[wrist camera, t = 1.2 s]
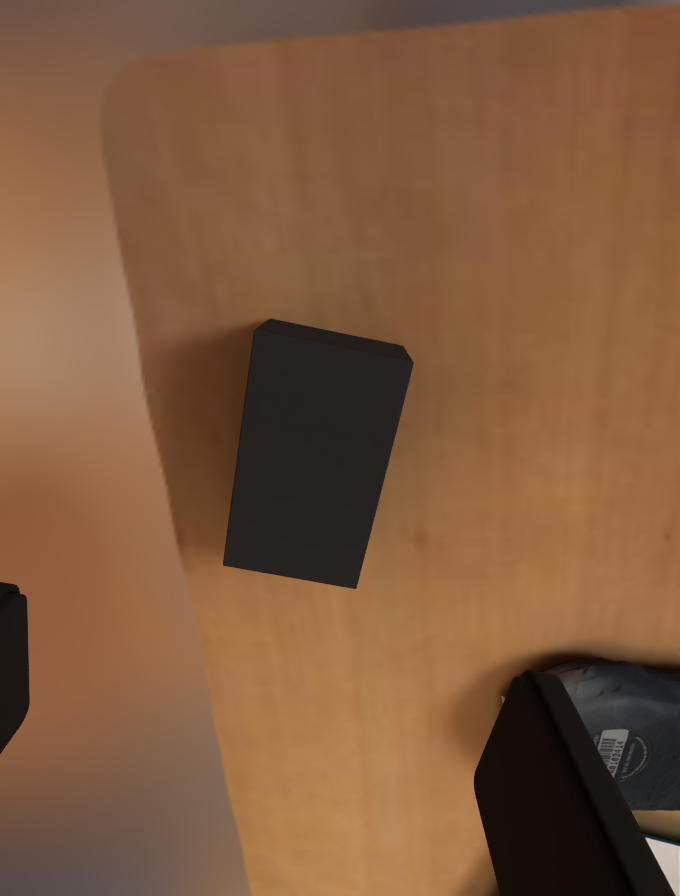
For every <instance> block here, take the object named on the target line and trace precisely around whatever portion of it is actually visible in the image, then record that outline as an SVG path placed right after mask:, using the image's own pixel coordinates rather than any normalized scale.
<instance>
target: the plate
mask: <svg viewBox="0 0 680 896" xmlns="http://www.w3.org/2000/svg"><path fill="white" fill-rule="evenodd" d="M643 835H644V837H645V839H646V840H647V842H648V844H649V846H650V848H651V850H652V852H653V854H654V856H655V857H656V859H657V861H658V863H659V865H660V867H661V869H662V871H663V873H664V875H665V876H666V878H667V880H668V882H669V884H670V886H671V888H672V890H673V892H674V893H675V895H676V896H680V843H677V842H673V841H669V840H665V839H662V838H658V837H654V836H650V835H646V834H643Z"/></svg>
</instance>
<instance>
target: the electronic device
mask: <svg viewBox="0 0 680 896" xmlns="http://www.w3.org/2000/svg"><path fill="white" fill-rule="evenodd" d="M542 673H547V674H553V675H556V676H558V677H559V678H560V680H561V681H562V683H563V685H564V686H565V688H566V690H567V692H568V694H569V696H570V698H571V700H572V702H573V704H574V705H575V707H576V709H577V711H578V713H579V715H580V717H581V719H582V721H583V722H584V724H585V726H586V728H587V730H588V732H589V734H590V736H591V738H592V740H593V741H594V743H595V745H596V747H597V749H598V751H599V753H600V755H601V757H602V759H603V760H604V762H605V764H606V766H607V768H608V769H609V771H610V772H611V774H612V776H613V778H614V780H615V782H616V784H617V786H618V788H619V789H620V791H621V793H622V795H623V797H624V799H625V801H626V803H627V805H628V806H629V808H630V810H669V811H673V810H679V811H680V671H675V670H674V671H666V670H660V669H648V668H644V667H642V666H639V665H636V664H632V663H628V662H625V661H612V660H608V659H604V658H590V659H579V660H577V661H572V662H569V663H565V664H561V665H558V666H555V667H553V668H550V669H548V670H547V671H544V672H542ZM501 698H502V703H503V702H504V700H505V698H504V697H503V696H501Z"/></svg>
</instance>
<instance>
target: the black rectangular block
mask: <svg viewBox="0 0 680 896" xmlns="http://www.w3.org/2000/svg"><path fill="white" fill-rule="evenodd" d="M413 364H414V363H413V361H412V359H411V358H410V356H409V355H408V353H407V351H406V350H405V348H404V347H403V346H401V345H396V344H391V343H386V342H381V341H377V340H372V339H367V338H362V337H357V336H352V335H347V334H342V333H338V332H333V331H328V330H323V329H318V328H313V327H308V326H304V325H299V324H294V323H289V322H284V321H279V320H274V319H269V320H268V321H267V322H265V323H264V324H262V325H261V326H260V327H258V328H257V329H255V330H254V336H253V343H252V351H251V358H250V366H249V373H248V381H247V388H246V396H245V403H244V411H243V418H242V425H241V433H240V440H239V448H238V455H237V463H236V470H235V478H234V485H233V493H232V500H231V508H230V515H229V523H228V530H227V537H226V545H225V552H224V560H223V565H224V566H229V567H235V568H240V569H246V570H252V571H257V572H263V573H268V574H274V575H280V576H285V577H291V578H297V579H302V580H308V581H313V582H319V583H325V584H330V585H336V586H342V587H347V588H353V589H356V588H357V584H358V580H359V576H360V572H361V568H362V564H363V560H364V557H365V553H366V549H367V545H368V541H369V537H370V533H371V529H372V525H373V521H374V517H375V513H376V509H377V505H378V501H379V497H380V494H381V490H382V486H383V482H384V478H385V474H386V470H387V466H388V462H389V458H390V454H391V450H392V446H393V442H394V438H395V434H396V431H397V427H398V423H399V419H400V415H401V411H402V407H403V403H404V399H405V395H406V391H407V387H408V383H409V379H410V375H411V372H412V368H413Z"/></svg>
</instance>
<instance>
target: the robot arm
mask: <svg viewBox="0 0 680 896" xmlns="http://www.w3.org/2000/svg"><path fill="white" fill-rule="evenodd" d="M28 708H29V661H28V621H27V598H26V596H25V595H23V594H20V592H19V588H18V587H17V585H14V584H8V583H3V582H0V754H1V752H2V751H3V749H4V748H5V747H6V745H7V744H8V742H9V741H10V740H11V738H12V737H13V735H14V734H15V733H16V731H17V730H18V728H19V727H20V726H21V724H22V722H23V721H24V719H25V716H26V714H27V711H28ZM474 790H475V796H476V800H477V804H478V808H479V812H480V816H481V820H482V824H483V828H484V832H485V836H486V840H487V844H488V848H489V852H490V856H491V860H492V864H493V868H494V872H495V876H496V880H497V884H498V888H499V892H500V896H676V895H675V893H674V892H673V890H672V888H671V886H670V884H669V882H668V880H667V878H666V876H665V875H664V873H663V871H662V869H661V867H660V865H659V863H658V861H657V859H656V857H655V856H654V854H653V852H652V850H651V848H650V846H649V844H648V842H647V840H646V839H645V837H644V835H643V833H642V831H641V829H640V827H639V825H638V823H637V822H636V820H635V818H634V816H633V814H632V812H631V810H630V808H629V806H628V805H627V803H626V801H625V799H624V797H623V795H622V793H621V791H620V789H619V788H618V786H617V784H616V782H615V780H614V778H613V776H612V774H611V772H610V771H609V769H608V768H607V766H606V764H605V762H604V760H603V759H602V757H601V755H600V753H599V751H598V749H597V747H596V745H595V743H594V741H593V740H592V738H591V736H590V734H589V732H588V730H587V728H586V726H585V724H584V722H583V721H582V719H581V717H580V715H579V713H578V711H577V709H576V707H575V705H574V704H573V702H572V700H571V698H570V696H569V694H568V692H567V690H566V688H565V686H564V685H563V683H562V681H561V680H560V678H559V677H558V676H556V675H553V674H547V673H541V672H535V671H529V670H526V671H525V672H523V674H522V675H521V677H515V678H514V679H513V681H512V683H511V685H510V688H509V690H508V693H507V695H506V698H505V700H504V702H503V705H502V707H501V710H500V712H499V715H498V717H497V720H496V722H495V724H494V727H493V729H492V732H491V734H490V737H489V739H488V741H487V744H486V746H485V749H484V751H483V754H482V756H481V759H480V761H479V763H478V766H477V768H476V771H475V775H474Z"/></svg>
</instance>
